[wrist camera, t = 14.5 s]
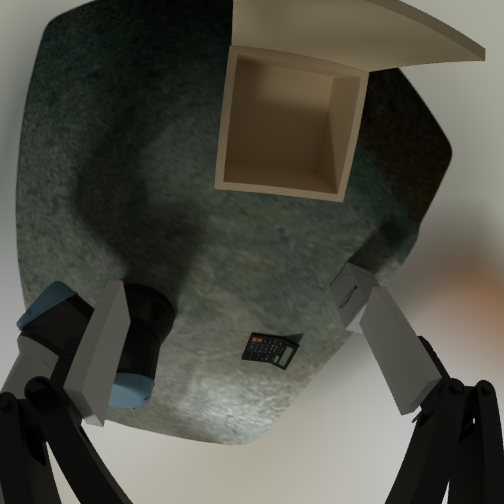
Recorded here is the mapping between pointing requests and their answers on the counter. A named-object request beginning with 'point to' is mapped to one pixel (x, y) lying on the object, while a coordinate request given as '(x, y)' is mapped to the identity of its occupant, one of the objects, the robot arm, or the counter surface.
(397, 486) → the robot arm
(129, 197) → the counter surface
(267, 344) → the calculator
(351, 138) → the carton
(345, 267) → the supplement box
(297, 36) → the flap
